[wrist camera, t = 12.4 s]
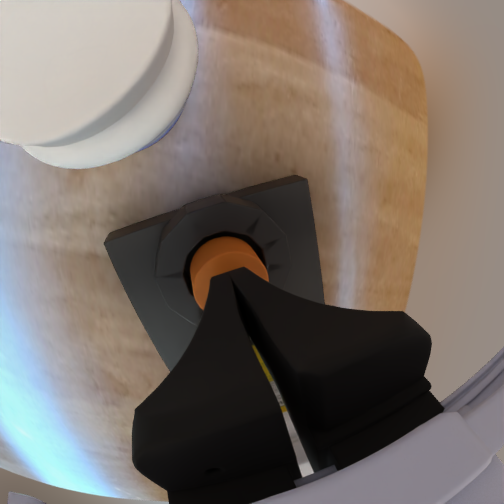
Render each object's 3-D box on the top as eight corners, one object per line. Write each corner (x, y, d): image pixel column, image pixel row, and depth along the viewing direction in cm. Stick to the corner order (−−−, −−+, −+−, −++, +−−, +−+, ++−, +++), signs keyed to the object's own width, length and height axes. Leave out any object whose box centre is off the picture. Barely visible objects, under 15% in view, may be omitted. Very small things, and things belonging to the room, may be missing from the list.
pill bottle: (58, 128, 11) (-88, 143, 2) (113, 31, 9) (46, -85, 1) (151, 171, 13) (106, 248, 4) (208, 73, 12) (277, -29, 3)
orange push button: (263, 285, 14) (275, 305, 12) (202, 305, 13) (207, 328, 12) (248, 226, 12) (260, 241, 11) (180, 248, 12) (182, 266, 10)
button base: (322, 359, 21) (340, 386, 18) (197, 403, 19) (203, 434, 17) (294, 166, 14) (321, 174, 12) (105, 224, 13) (91, 247, 10)
